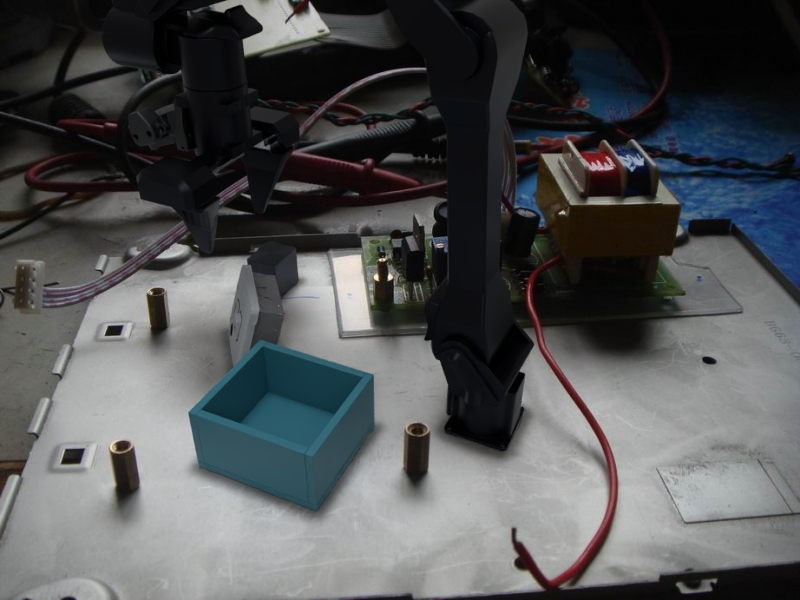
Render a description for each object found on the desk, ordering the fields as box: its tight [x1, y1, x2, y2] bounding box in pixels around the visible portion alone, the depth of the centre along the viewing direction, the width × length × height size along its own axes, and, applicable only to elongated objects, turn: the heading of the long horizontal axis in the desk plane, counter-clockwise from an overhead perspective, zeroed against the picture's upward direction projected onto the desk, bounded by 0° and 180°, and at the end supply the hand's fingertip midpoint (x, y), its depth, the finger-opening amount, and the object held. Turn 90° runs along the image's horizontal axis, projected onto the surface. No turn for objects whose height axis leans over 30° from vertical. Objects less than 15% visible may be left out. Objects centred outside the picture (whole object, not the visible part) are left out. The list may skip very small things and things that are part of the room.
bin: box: [187, 340, 375, 512], centre depth 70 cm, size 13×12×7 cm
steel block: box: [246, 240, 299, 298], centre depth 93 cm, size 4×5×5 cm
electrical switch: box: [227, 264, 285, 368], centre depth 81 cm, size 9×5×9 cm, turn 15°
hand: (234, 231), depth 77 cm, fingers open, 9 cm apart
